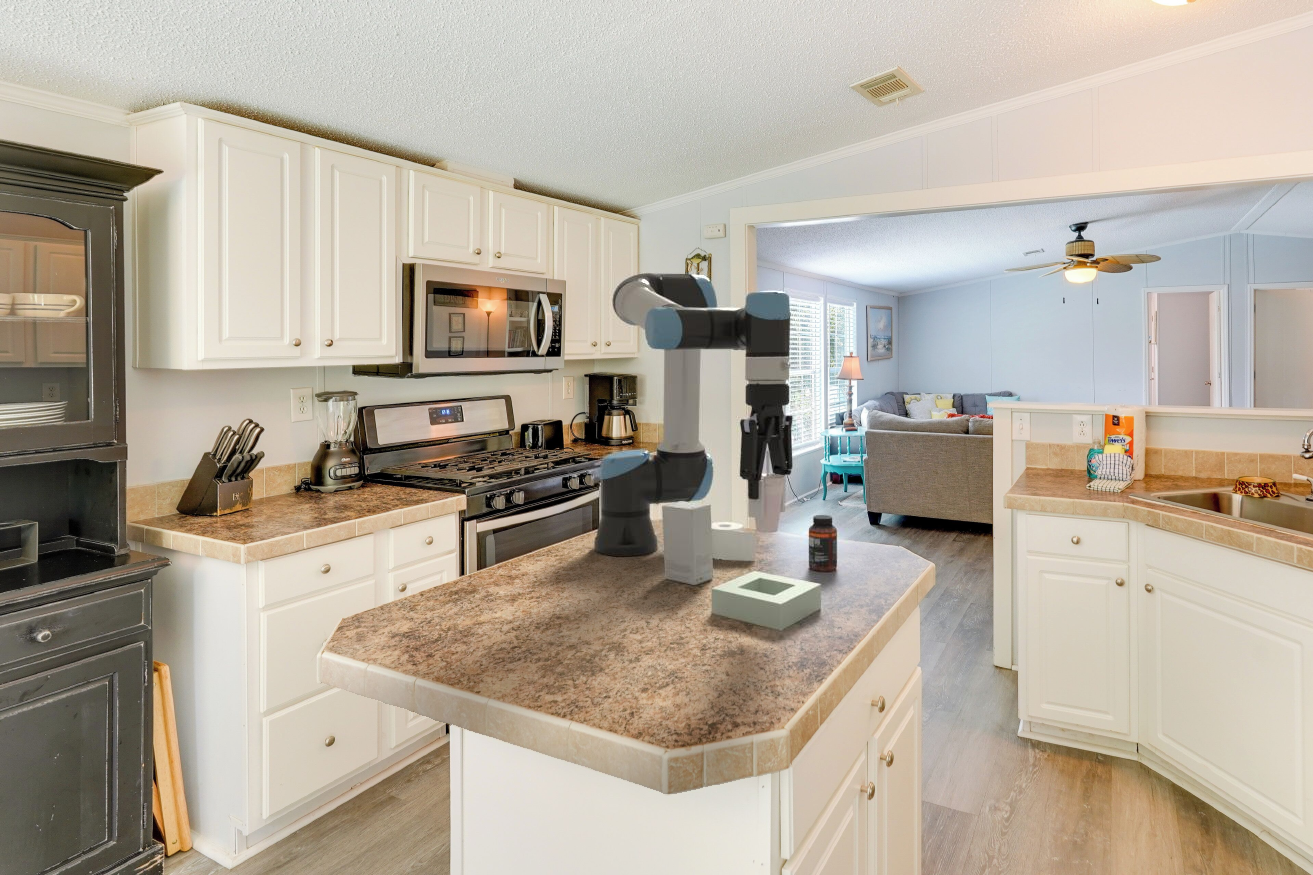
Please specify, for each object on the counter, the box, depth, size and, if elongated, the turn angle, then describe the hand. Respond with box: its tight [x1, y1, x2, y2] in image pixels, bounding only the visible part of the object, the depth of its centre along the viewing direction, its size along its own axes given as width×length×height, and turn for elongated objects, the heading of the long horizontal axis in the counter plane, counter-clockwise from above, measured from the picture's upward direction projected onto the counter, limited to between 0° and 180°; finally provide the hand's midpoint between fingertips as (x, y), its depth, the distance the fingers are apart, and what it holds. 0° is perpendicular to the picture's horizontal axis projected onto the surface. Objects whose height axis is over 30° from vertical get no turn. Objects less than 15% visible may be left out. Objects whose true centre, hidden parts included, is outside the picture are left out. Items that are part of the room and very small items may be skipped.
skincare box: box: [661, 501, 714, 586], centre depth 152 cm, size 8×7×16 cm
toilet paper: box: [711, 521, 757, 562], centre depth 171 cm, size 8×11×7 cm
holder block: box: [711, 570, 822, 632], centre depth 132 cm, size 14×14×4 cm
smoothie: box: [754, 450, 786, 534], centre depth 130 cm, size 6×6×14 cm
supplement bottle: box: [808, 514, 838, 572], centre depth 159 cm, size 6×6×11 cm
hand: (766, 513), depth 131 cm, fingers closed on smoothie, 6 cm apart
